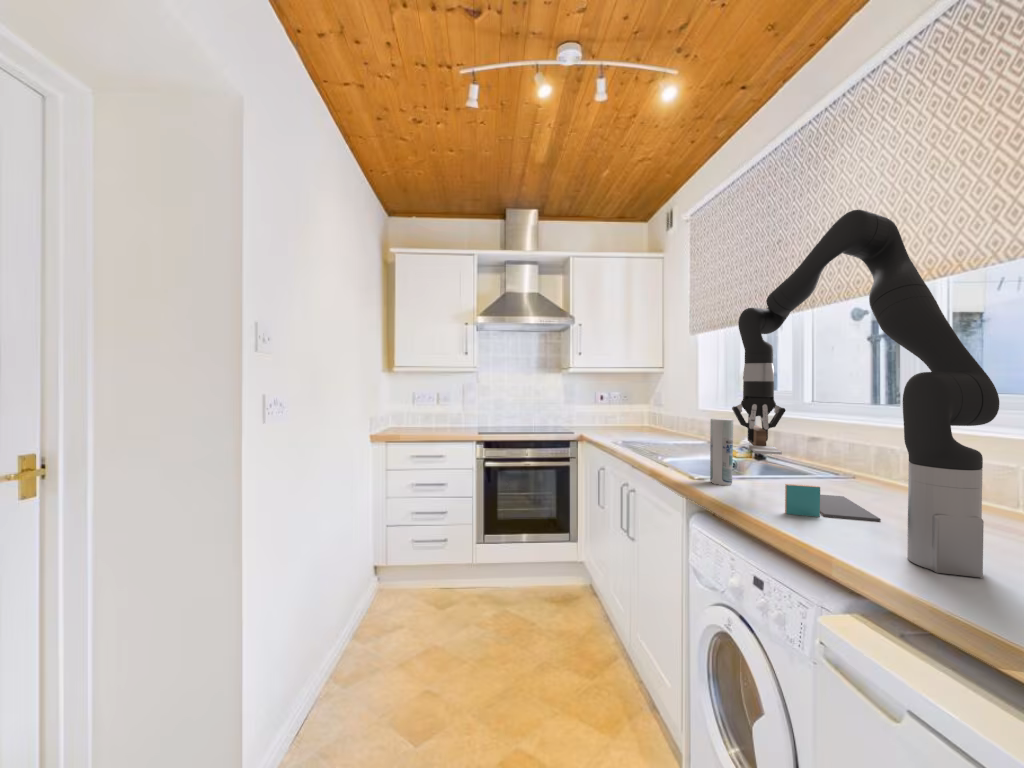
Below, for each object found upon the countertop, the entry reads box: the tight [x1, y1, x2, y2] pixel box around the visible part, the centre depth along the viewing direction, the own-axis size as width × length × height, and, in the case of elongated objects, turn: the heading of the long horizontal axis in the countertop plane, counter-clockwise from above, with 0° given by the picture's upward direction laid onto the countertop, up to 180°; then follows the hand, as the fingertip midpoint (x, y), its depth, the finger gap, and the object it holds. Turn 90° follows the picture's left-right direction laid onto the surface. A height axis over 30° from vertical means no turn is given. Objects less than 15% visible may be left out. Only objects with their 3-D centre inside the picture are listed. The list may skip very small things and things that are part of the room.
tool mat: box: [820, 494, 882, 522], centre depth 116 cm, size 22×11×1 cm, turn 162°
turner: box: [747, 424, 783, 455], centre depth 124 cm, size 20×6×4 cm, turn 163°
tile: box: [784, 483, 821, 518], centre depth 108 cm, size 1×7×7 cm, turn 72°
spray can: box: [709, 417, 734, 486], centre depth 142 cm, size 6×6×20 cm
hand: (757, 442), depth 127 cm, fingers closed on turner, 2 cm apart
